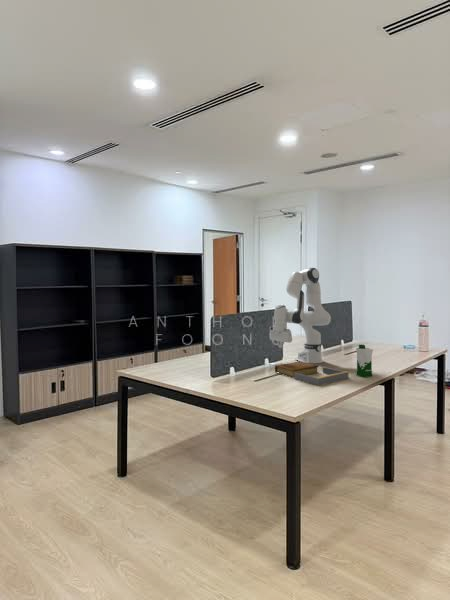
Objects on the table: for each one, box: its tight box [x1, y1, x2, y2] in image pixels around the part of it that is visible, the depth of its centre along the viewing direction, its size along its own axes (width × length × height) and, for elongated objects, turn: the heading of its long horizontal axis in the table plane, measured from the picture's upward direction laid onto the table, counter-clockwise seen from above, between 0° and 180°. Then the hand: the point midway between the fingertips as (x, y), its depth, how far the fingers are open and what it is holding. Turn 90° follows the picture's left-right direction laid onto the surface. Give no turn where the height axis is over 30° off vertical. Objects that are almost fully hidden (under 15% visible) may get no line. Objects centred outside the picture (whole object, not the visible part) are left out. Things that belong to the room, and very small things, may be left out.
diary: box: [274, 361, 320, 378], centre depth 286 cm, size 23×19×6 cm
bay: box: [293, 366, 350, 386], centre depth 268 cm, size 20×28×5 cm
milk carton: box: [355, 344, 374, 378], centre depth 274 cm, size 9×9×20 cm
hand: (280, 347), depth 298 cm, fingers closed
